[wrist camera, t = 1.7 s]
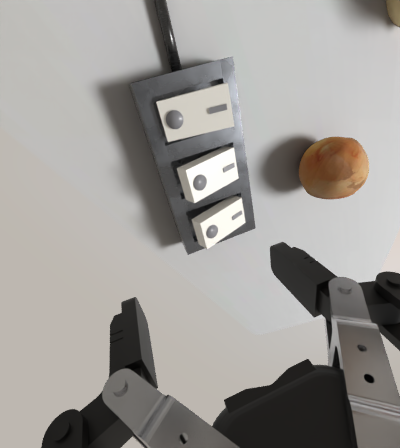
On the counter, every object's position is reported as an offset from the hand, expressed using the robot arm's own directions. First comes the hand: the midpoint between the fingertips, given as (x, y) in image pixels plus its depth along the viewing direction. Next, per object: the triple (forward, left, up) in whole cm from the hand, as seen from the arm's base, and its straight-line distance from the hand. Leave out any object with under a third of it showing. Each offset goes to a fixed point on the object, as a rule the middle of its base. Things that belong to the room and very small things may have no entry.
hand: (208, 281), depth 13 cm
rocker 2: (-7, +9, -19) cm, 22 cm away
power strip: (-7, -3, -25) cm, 26 cm away
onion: (-27, +7, -25) cm, 37 cm away
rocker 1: (-7, -6, -19) cm, 22 cm away
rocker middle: (-7, +1, -19) cm, 21 cm away
